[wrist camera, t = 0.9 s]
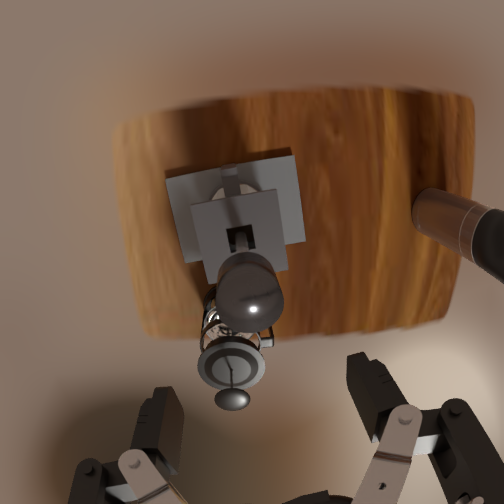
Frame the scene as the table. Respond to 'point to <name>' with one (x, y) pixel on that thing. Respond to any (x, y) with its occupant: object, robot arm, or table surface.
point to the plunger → (247, 291)
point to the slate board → (256, 172)
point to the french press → (230, 359)
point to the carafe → (238, 223)
